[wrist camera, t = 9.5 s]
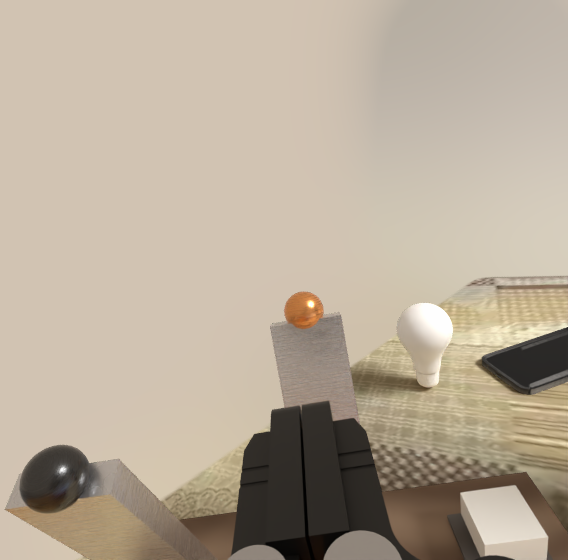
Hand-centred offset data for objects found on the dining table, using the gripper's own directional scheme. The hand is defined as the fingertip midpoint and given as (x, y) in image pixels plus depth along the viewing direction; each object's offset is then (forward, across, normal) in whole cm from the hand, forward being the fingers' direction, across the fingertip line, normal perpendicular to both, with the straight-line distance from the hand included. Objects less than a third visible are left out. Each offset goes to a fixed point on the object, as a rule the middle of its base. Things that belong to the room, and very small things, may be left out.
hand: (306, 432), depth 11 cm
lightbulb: (+34, -12, +26) cm, 44 cm away
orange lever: (+12, 0, +23) cm, 26 cm away
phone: (+35, -28, +26) cm, 52 cm away
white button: (+12, -10, +23) cm, 28 cm away
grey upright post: (+12, +12, +23) cm, 29 cm away
